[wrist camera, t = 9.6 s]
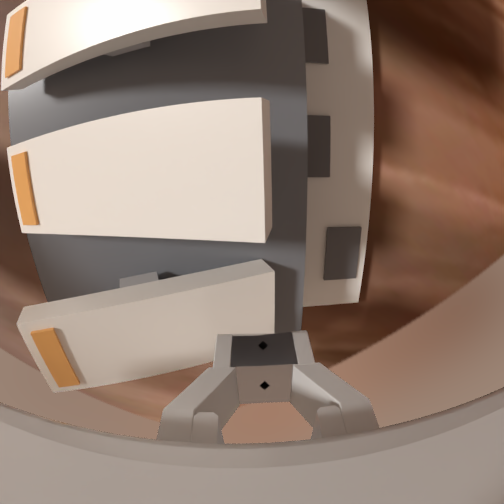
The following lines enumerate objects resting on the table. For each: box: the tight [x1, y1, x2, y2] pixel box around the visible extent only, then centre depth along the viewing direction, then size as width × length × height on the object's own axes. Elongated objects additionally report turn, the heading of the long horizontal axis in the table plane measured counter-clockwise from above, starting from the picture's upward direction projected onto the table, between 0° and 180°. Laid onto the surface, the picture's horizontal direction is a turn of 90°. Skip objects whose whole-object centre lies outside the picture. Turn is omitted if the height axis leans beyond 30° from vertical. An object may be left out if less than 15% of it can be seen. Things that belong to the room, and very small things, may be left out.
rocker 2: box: [7, 97, 272, 243], centre depth 9 cm, size 10×4×3 cm, turn 91°
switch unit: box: [8, 0, 374, 333], centre depth 13 cm, size 20×19×5 cm
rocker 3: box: [17, 259, 275, 393], centre depth 12 cm, size 10×4×2 cm, turn 93°
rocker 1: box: [1, 0, 267, 91], centre depth 7 cm, size 10×4×3 cm, turn 92°
